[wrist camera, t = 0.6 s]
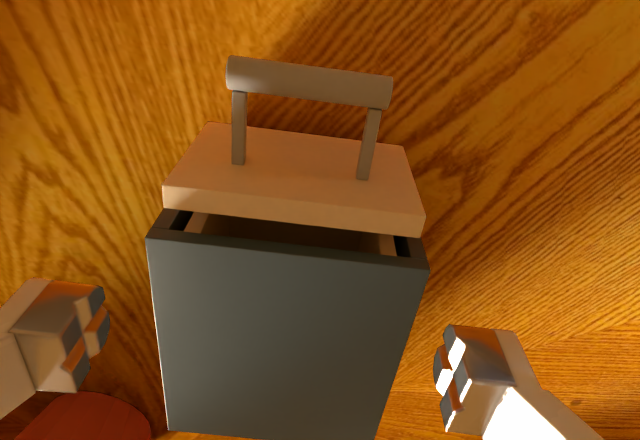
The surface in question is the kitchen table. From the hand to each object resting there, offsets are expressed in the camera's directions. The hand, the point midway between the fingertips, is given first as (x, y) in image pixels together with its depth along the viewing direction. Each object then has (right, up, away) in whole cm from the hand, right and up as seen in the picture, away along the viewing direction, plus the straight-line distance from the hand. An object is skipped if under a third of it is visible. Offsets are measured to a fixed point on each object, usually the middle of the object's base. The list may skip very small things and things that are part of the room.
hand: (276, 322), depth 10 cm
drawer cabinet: (-1, 0, +20) cm, 20 cm away
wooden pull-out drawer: (0, +4, +17) cm, 17 cm away
